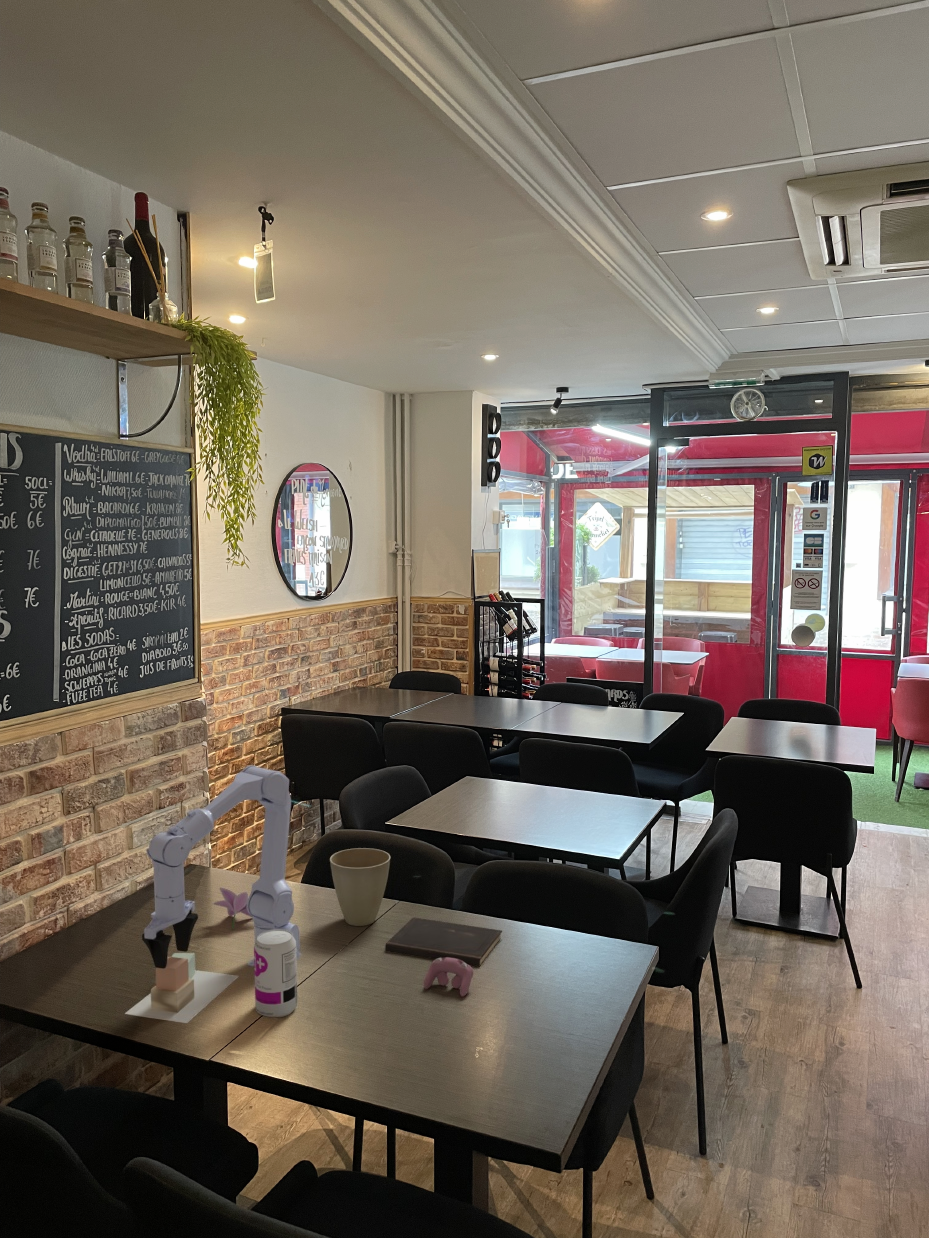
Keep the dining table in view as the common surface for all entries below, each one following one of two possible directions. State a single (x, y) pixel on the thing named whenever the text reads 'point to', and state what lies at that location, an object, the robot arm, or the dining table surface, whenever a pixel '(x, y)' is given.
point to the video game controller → (452, 966)
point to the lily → (234, 903)
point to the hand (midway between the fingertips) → (171, 958)
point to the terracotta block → (172, 974)
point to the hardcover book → (444, 941)
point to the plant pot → (360, 883)
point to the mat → (204, 993)
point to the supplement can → (275, 973)
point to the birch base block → (172, 997)
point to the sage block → (190, 962)
